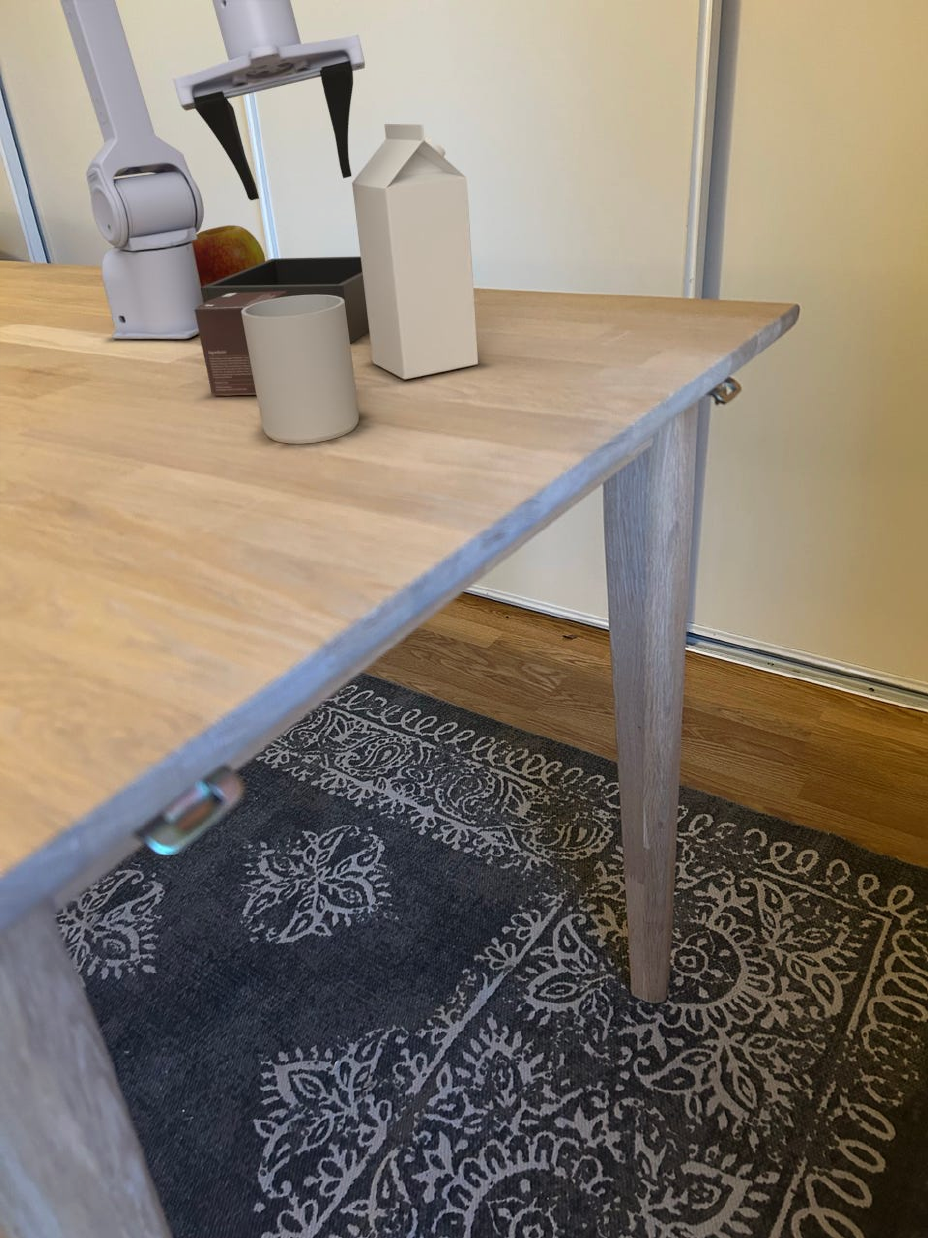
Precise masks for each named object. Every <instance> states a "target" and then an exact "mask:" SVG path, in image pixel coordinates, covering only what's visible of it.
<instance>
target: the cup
mask: <svg viewBox="0 0 928 1238" xmlns="http://www.w3.org/2000/svg"><path fill="white" fill-rule="evenodd" d="M241 313H242V319H243V324H244V330H245V335H246V340H247V346H248V351H249V357H250V362H251V368H252V373H253V378H254V384H255V389H256V395H255V396H256V400H257V406H258V409H259V410H258V411H259V416H260V421H261V425H262V429H263V431H264V434H265V435H266V436H267V437H268V438H270V439H271V440H272V441H275V442H278V443H282V444H291V445H294V444H296V445H297V444H298V445H303V444H313V443H314V444H315V443H320V442H321V443H322V442H326V441H329V440H334V439H337V438H339V437H343V436H345V435H347V434H349V433H350V432H352V431H353V430H354V429H355V428H356V427H357V425H358V423H359V420H360V411H359V401H358V394H357V386H356V379H355V372H354V364H353V363H354V362H353V357H352V349H351V344H350V340H349V332H348V325H347V317H346V309H345V302H344V299H343V298H341V297H337V296H332V295H299V296H289V297H281V298H275V299H270V300H265V301H261V302H257V303H255V304H252V305H249V306H247V307H245V308H243V310H242V311H241Z"/></svg>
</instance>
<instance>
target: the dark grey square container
mask: <svg viewBox="0 0 928 1238" xmlns="http://www.w3.org/2000/svg"><path fill="white" fill-rule="evenodd" d="M200 289H201V294H202V299H203V303H206V302H207V301H209V300H211V299H215V298H217V297H220V296H222V295H224V294H230V293H252V292H274V291H286V292H287V297H289V296H299V295H332V296H337V297H341V298H343V299H344V302H345V309H346V317H347V325H348V332H349V340H350V345H351V344H352V343H355V342H356V341H357V340H359V339H360V338H361V337H363V336H364V335H366V334H368V333H370V332H369V323H368V315H367V306H366V297H365V289H364V280H363V272H362V263H361V255H359V256H323V257H322V256H321V257H320V256H319V257H281V258H279V257H278V258H270V259H267V260H265V262H262V263H260V264H257V265H255V266H252V267H250V268H248V269H245V270H243V271H240V272H238V273H235V274H233V275H230V276H228V277H225V278H223V279H221V280H218V281H216V282H213V283H211V284H208V285H206V286H203V287H201V288H200Z"/></svg>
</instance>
